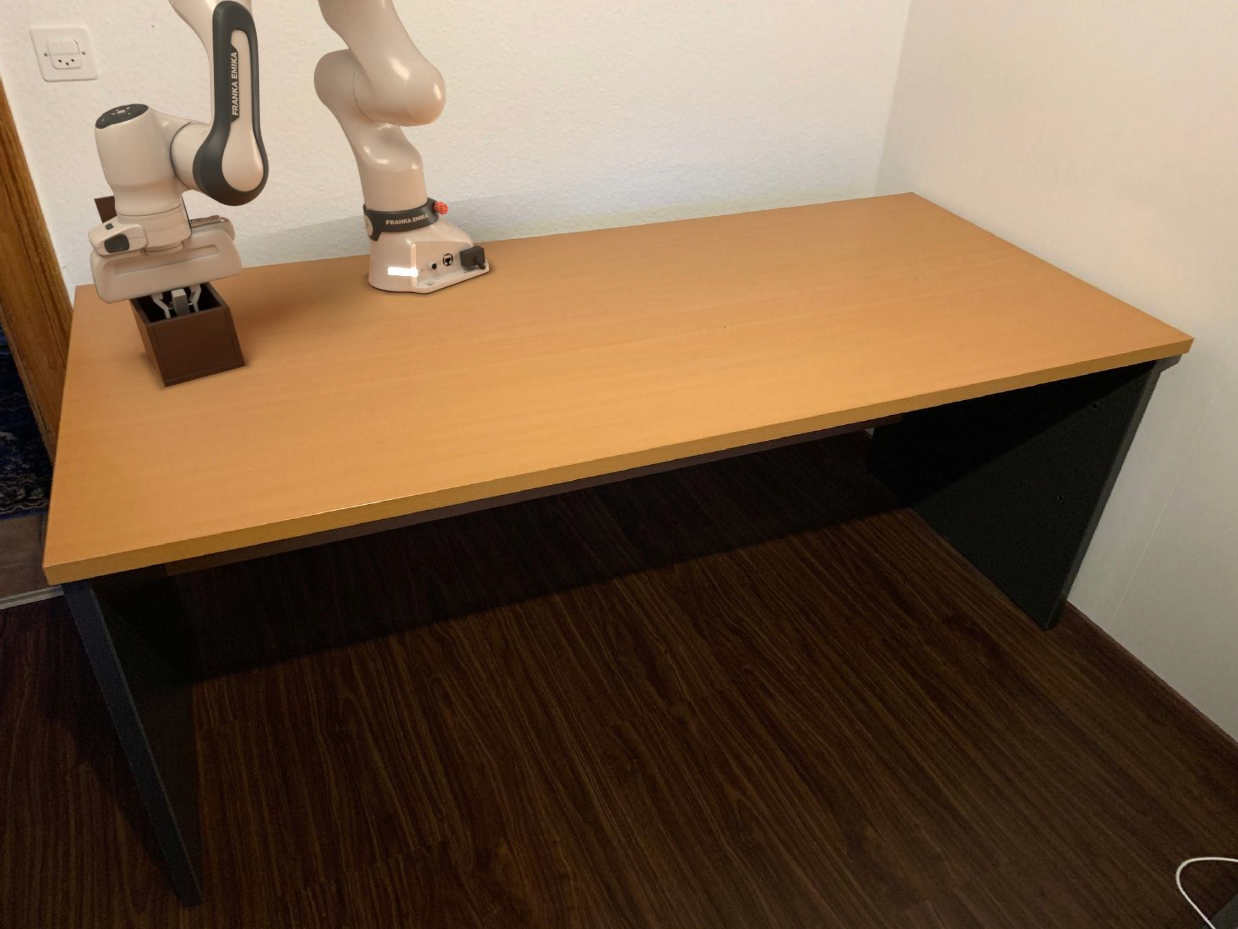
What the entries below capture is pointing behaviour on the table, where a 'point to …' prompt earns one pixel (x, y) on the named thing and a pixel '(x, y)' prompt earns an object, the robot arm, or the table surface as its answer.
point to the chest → (188, 337)
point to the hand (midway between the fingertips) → (182, 314)
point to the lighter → (180, 302)
